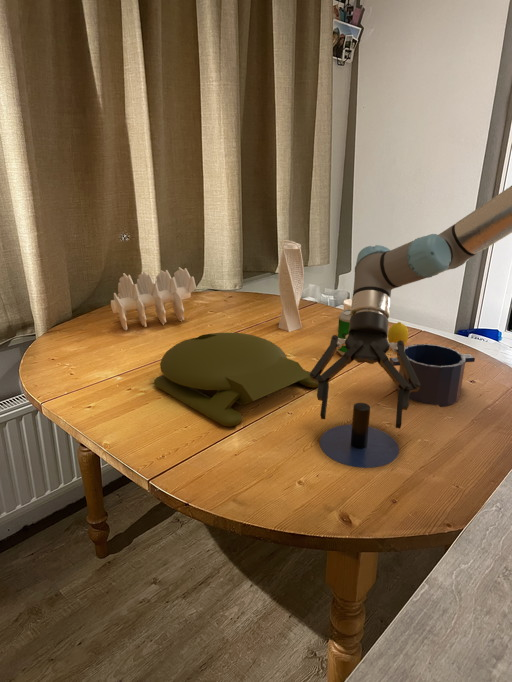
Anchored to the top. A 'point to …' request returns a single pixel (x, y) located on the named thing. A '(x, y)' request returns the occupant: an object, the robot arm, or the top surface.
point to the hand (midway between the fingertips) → (359, 421)
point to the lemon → (398, 333)
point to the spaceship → (227, 373)
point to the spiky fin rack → (153, 294)
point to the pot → (435, 373)
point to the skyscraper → (290, 285)
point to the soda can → (344, 328)
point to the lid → (359, 442)
